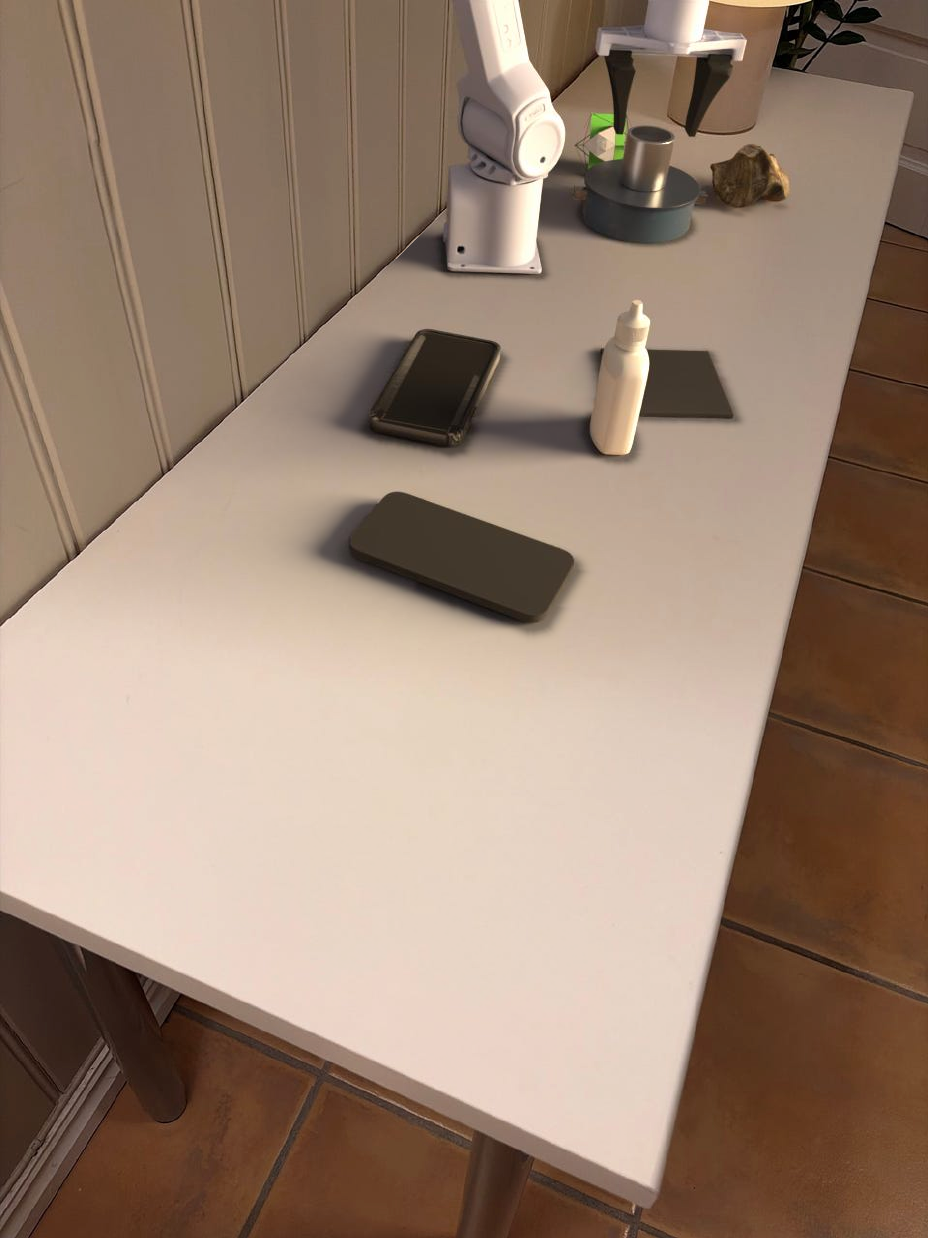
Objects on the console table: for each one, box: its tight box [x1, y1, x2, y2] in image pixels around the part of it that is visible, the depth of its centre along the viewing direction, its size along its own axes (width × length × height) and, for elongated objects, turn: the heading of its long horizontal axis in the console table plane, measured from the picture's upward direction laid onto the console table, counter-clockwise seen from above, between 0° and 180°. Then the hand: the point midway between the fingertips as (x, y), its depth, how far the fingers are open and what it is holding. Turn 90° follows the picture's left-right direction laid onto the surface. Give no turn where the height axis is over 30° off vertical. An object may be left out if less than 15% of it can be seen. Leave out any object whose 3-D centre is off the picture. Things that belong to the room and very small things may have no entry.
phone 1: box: [369, 328, 502, 448], centre depth 83 cm, size 8×1×15 cm
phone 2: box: [347, 491, 575, 624], centre depth 69 cm, size 7×1×15 cm
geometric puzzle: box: [574, 112, 632, 172], centre depth 115 cm, size 7×7×8 cm
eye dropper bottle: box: [589, 299, 651, 456], centre depth 76 cm, size 4×6×12 cm
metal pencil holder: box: [620, 124, 676, 192], centre depth 105 cm, size 5×5×5 cm
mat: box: [600, 347, 734, 419], centre depth 86 cm, size 10×10×1 cm
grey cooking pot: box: [572, 159, 708, 244], centre depth 108 cm, size 15×13×4 cm
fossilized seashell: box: [709, 143, 790, 209], centre depth 113 cm, size 8×7×10 cm
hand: (654, 131), depth 103 cm, fingers open, 7 cm apart
